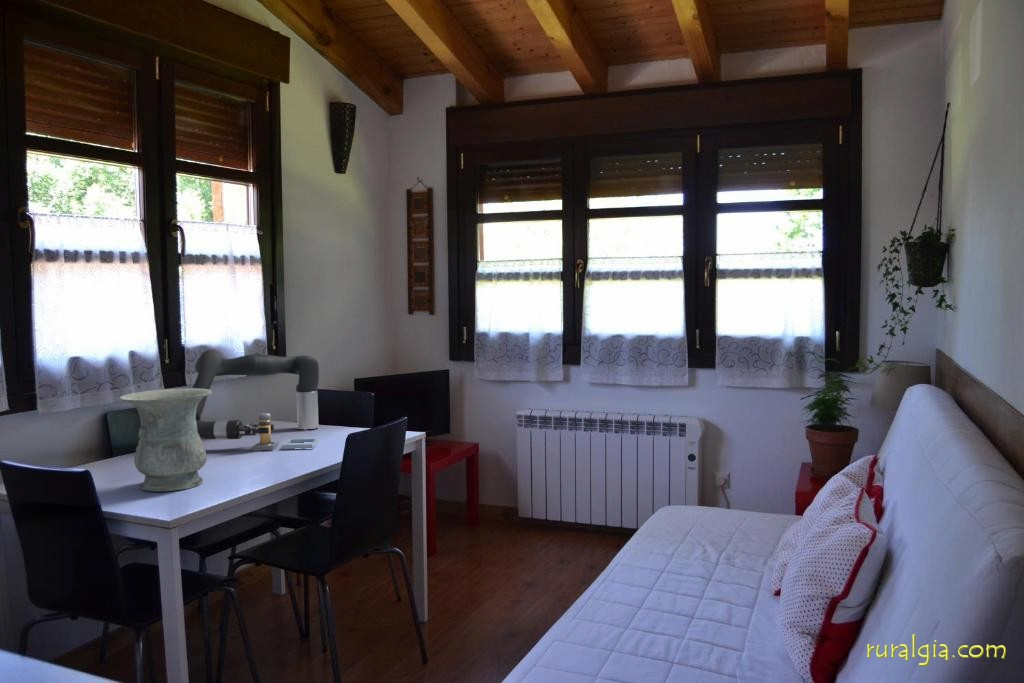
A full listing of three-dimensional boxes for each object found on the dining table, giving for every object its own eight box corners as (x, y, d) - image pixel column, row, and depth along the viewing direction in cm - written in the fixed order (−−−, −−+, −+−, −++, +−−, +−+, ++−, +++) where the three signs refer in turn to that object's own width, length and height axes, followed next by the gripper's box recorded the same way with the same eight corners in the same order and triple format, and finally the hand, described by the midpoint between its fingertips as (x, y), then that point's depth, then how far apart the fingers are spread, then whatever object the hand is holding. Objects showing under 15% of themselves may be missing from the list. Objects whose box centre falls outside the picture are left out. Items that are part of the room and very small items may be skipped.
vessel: (112, 486, 245) (107, 393, 243) (195, 471, 264) (191, 385, 262) (142, 501, 226) (137, 401, 224) (229, 484, 244) (225, 392, 242)
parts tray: (289, 444, 309) (289, 439, 309) (319, 443, 310) (318, 438, 310) (281, 450, 297) (281, 445, 297) (312, 449, 298) (312, 444, 298)
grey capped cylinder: (261, 447, 302) (260, 413, 301) (273, 447, 302) (271, 412, 301) (258, 450, 298) (256, 415, 297) (270, 450, 298) (268, 414, 297)
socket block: (258, 447, 304) (258, 442, 304) (278, 446, 304) (278, 441, 304) (252, 451, 296) (252, 446, 296) (273, 450, 296) (273, 445, 296)
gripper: (221, 423, 291) (265, 422, 292) (233, 417, 306) (275, 416, 307) (222, 442, 292) (266, 441, 293) (234, 435, 306) (276, 434, 307)
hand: (270, 428), depth 300 cm, fingers open, 6 cm apart
